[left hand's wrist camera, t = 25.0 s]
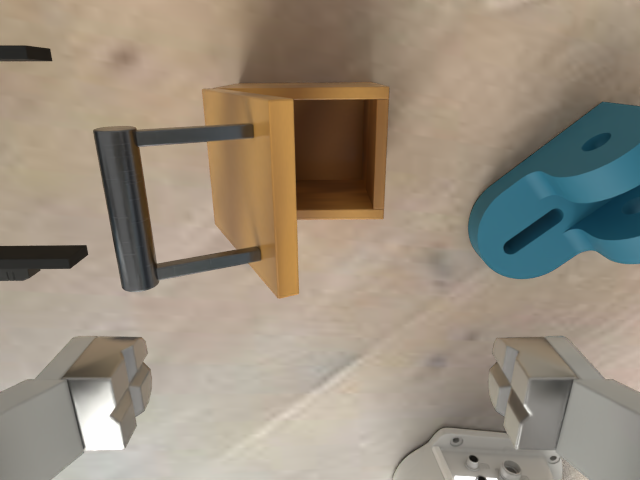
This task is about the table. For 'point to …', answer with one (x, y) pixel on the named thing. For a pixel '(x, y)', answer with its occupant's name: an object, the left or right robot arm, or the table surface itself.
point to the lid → (213, 190)
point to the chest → (336, 146)
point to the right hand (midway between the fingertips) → (61, 162)
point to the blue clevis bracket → (566, 199)
